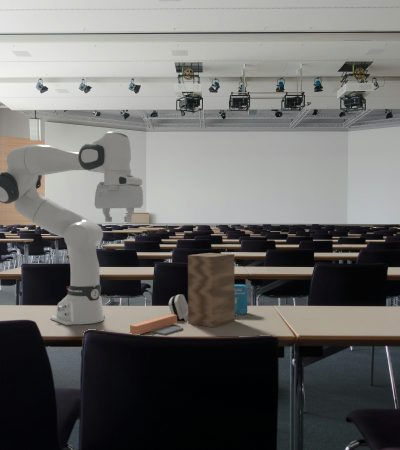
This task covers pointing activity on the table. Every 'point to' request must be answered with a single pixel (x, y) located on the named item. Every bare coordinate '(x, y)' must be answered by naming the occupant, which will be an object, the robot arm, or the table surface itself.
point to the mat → (166, 330)
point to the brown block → (211, 289)
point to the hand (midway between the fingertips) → (118, 222)
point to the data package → (240, 299)
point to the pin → (153, 324)
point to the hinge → (179, 307)
